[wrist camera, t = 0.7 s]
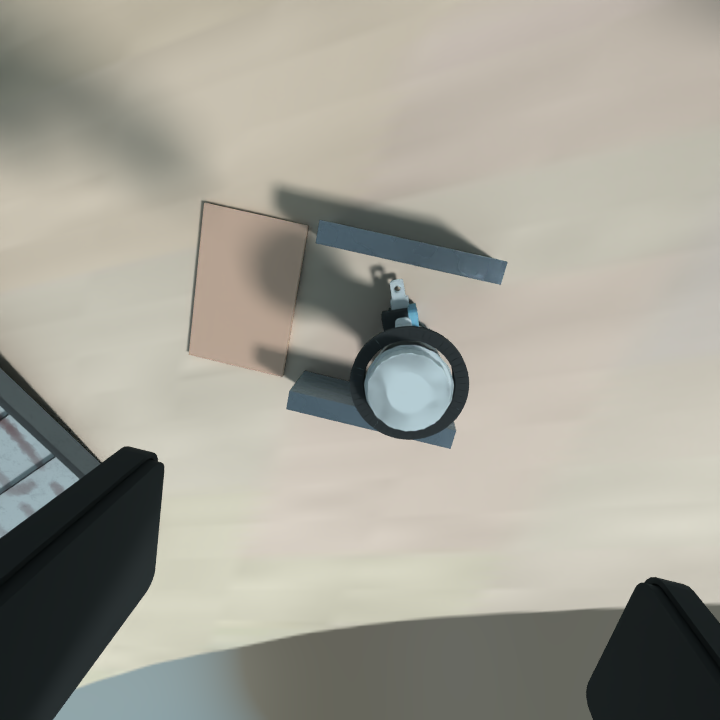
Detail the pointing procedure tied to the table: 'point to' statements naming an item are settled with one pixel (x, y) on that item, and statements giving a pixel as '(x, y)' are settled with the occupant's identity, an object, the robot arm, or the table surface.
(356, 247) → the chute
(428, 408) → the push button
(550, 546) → the table surface
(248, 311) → the mat
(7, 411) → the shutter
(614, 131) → the table surface
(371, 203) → the table surface
